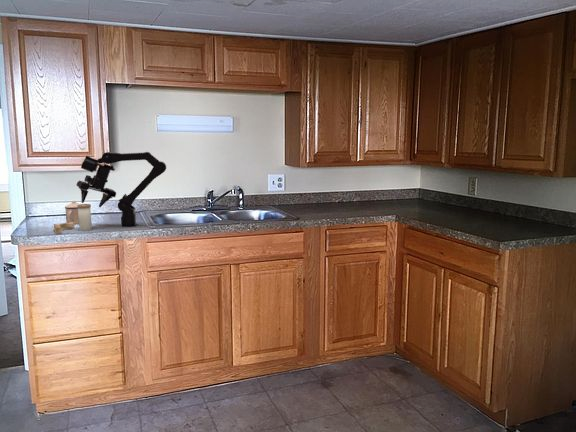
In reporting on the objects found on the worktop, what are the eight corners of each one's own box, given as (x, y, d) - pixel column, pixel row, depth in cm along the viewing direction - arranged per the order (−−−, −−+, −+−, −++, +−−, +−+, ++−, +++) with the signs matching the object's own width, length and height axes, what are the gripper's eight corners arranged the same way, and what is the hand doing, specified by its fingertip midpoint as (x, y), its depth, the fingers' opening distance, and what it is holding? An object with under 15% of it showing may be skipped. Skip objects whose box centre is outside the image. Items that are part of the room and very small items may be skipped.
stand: (74, 228, 249) (73, 222, 249) (77, 232, 239) (77, 226, 239) (54, 230, 245) (53, 224, 244) (56, 234, 235) (56, 227, 234)
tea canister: (93, 228, 250) (92, 203, 248) (90, 230, 244) (88, 205, 242) (81, 228, 249) (79, 204, 247) (77, 230, 243) (75, 205, 241)
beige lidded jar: (70, 221, 269) (68, 200, 267) (87, 221, 269) (85, 199, 267) (60, 225, 257) (59, 203, 255) (78, 225, 257) (77, 202, 256)
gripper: (112, 176, 263) (101, 204, 264) (77, 166, 249) (67, 195, 251) (121, 182, 255) (110, 211, 257) (86, 172, 242) (75, 202, 243)
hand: (90, 205), depth 252 cm, fingers open, 9 cm apart
